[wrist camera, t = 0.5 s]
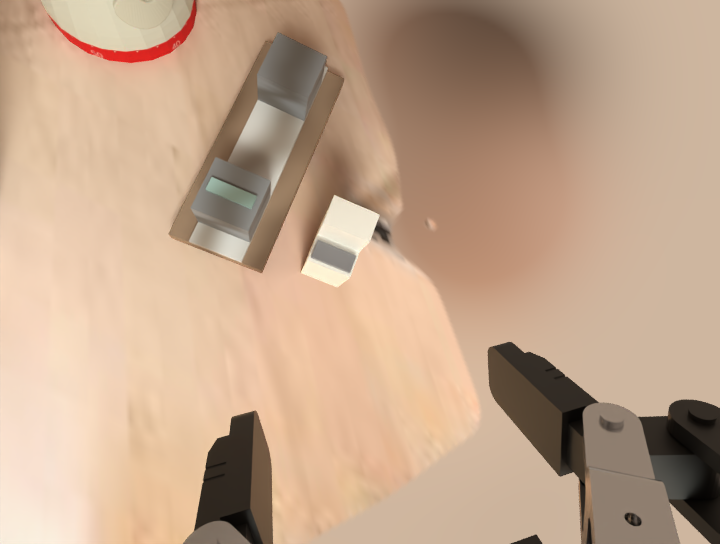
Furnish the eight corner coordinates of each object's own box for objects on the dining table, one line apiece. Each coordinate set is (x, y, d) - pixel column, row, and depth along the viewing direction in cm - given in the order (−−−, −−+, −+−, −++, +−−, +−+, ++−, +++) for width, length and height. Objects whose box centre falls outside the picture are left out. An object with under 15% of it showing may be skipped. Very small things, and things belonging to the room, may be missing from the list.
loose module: (300, 272, 40) (311, 250, 31) (318, 229, 41) (334, 195, 32) (337, 287, 41) (359, 270, 31) (353, 243, 42) (379, 214, 32)
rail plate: (172, 238, 38) (154, 218, 32) (265, 50, 43) (266, 3, 37) (261, 273, 39) (261, 260, 33) (341, 87, 45) (353, 47, 39)
